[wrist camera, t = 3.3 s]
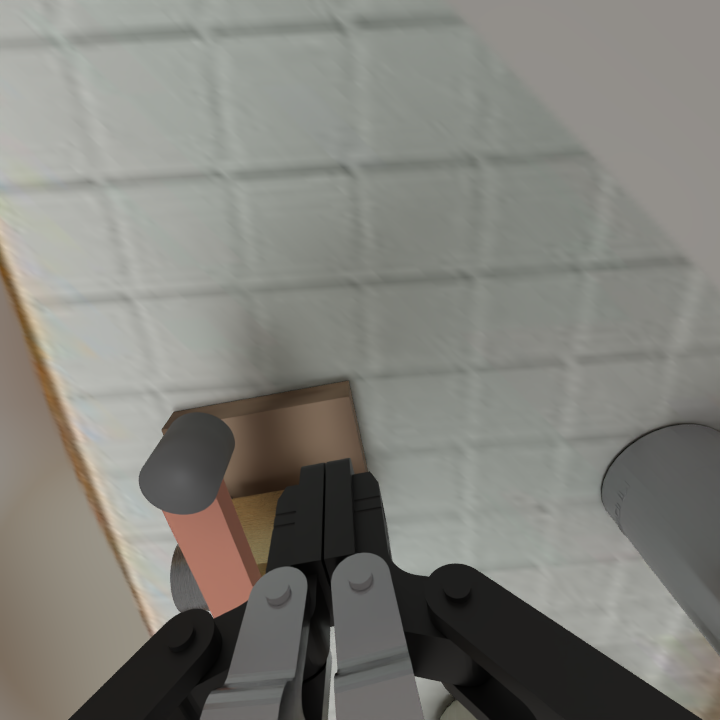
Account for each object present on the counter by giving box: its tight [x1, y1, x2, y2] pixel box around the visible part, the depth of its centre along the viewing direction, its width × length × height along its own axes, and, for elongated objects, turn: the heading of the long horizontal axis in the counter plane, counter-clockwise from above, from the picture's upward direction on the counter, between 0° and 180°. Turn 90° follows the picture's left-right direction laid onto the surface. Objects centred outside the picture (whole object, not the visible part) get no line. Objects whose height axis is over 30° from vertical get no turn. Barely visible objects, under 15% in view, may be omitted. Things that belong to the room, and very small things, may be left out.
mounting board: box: [162, 381, 368, 499], centre depth 28 cm, size 11×14×2 cm
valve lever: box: [139, 412, 261, 618], centre depth 18 cm, size 3×13×3 cm, turn 10°
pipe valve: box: [170, 490, 284, 612], centre depth 24 cm, size 10×5×8 cm, turn 100°
